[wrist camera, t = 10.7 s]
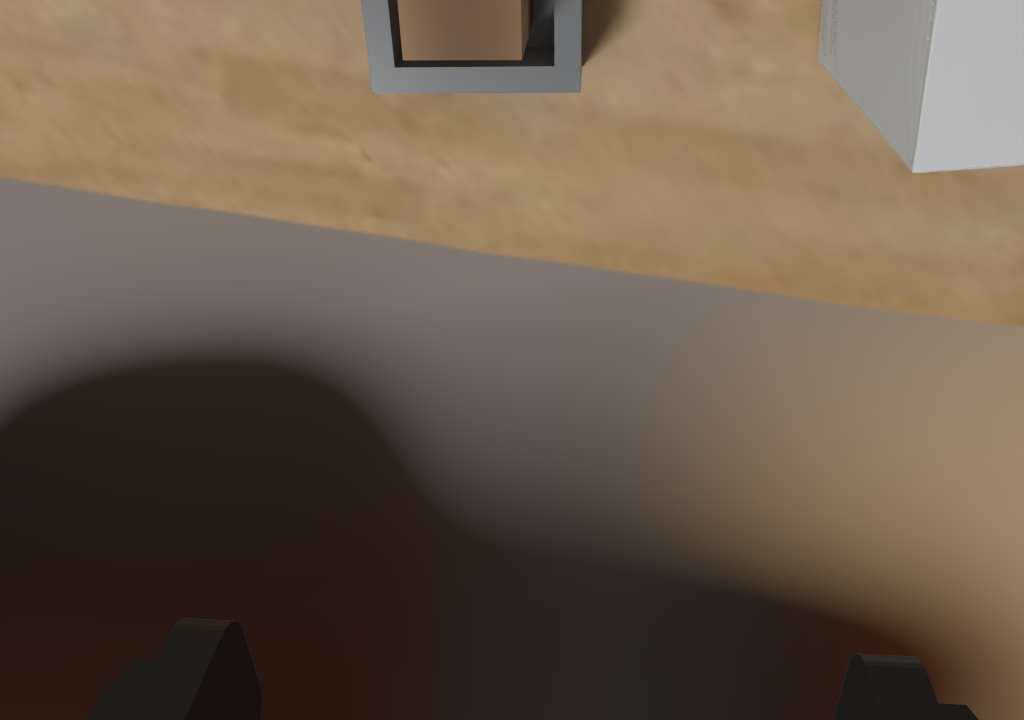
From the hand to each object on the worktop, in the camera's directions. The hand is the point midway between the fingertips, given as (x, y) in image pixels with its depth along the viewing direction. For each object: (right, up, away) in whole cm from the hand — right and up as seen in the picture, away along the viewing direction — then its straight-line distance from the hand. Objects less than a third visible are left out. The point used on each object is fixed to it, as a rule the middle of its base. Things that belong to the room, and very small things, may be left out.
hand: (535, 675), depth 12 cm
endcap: (-2, +19, +24) cm, 30 cm away
